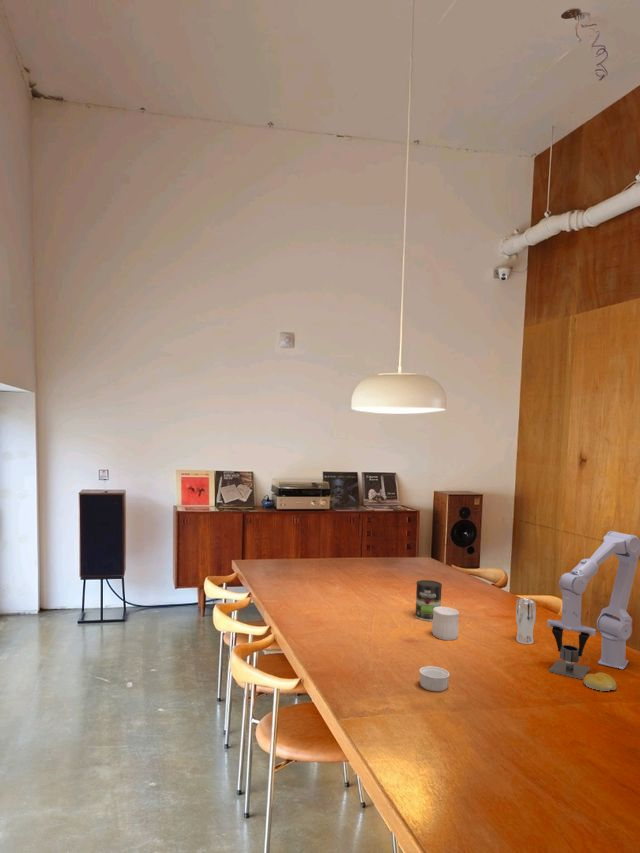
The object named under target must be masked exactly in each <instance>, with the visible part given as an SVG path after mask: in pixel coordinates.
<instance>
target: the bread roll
mask: <svg viewBox="0 0 640 853" xmlns="http://www.w3.org/2000/svg"><path fill="white" fill-rule="evenodd" d="M582 681H583V684H584V685H586V688H588V687H589V688H588V689H590V688H592V689H591V690H593V689H596V690H595V691H597V690H600V691H599V692H602V691H608V692H611V691H610V690H614V691H615V690H616V689H617V682H616V681H615V679H614V678H613V676H611V675H609V674H608V673H605V672H602V671H599V672H596V673H587V674H586V675H585V677H584V678H583V680H582Z"/></svg>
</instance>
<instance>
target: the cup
mask: <svg viewBox="0 0 640 853" xmlns="http://www.w3.org/2000/svg"><path fill="white" fill-rule="evenodd" d="M459 617H460V611H459V610H457V609H455V608H453V607H448V606H439V607H434V608H433V621H432V623H431V624H432V626H431V633H432V636H434V637H435V638H436V637H437V638H436V639H438V638H439V639H438V640H441V639H442V641H454V640H457V638H458V637H459Z"/></svg>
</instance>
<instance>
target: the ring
mask: <svg viewBox="0 0 640 853" xmlns="http://www.w3.org/2000/svg"><path fill="white" fill-rule="evenodd" d="M559 658H560V660H562V661H568V662H574V663H579V662H580V659H581V657H580V656H579V647H577V646H574V645H571V644H562V646H561V648H560V652H559Z"/></svg>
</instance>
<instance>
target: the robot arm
mask: <svg viewBox="0 0 640 853" xmlns="http://www.w3.org/2000/svg"><path fill="white" fill-rule="evenodd" d="M613 555H614V556H615V557H616V558H617V560H618V561H619V562H618V566H617V571H616V575H615V578H614V582H613V588H612V591H611V596H610V599H609V604H608V606H606V607H604V608H602V609H601V611H600V614H599V616H598V618H597V620H596V628H597V630H598V631H599V635H601V651H600V653H601V655H600V659H599V660H598V661H597V664H598V665H602V666H607V667H611V668H615V669H618V668H619V670H623V669H624V668H625V669H626V668H627V666H628V663H629V659H628V660H627V659H626V651H627V650H626V649H627V648H626V646H627V643H626V641H628V639H630V637H631V635H632V633H633V628H632V626H633V625H632V624H633V619H632V617H631V616H630V614H629V613H628V612H627V610H628V605H629V601H630V596H631V593H632V592H631V591H632V590H633V589H632V588H633V584H634V581H635V574H636V572H637V567H638V561H639V558H640V538H639V537H638V536H637V535H635V534H629V533H624V532H623V533H622V532H618V531H614V530H610V531H608V532H607V533H606V534H605V535H604V536H603V539H602V544H601V545H600V546H599V547H597V549H596V550H595V552H593V554H592V555H591V556H590V557H589V558H583V559H581V560H580V561H579V562H578V564H577V565H576V566H575V567H574V568H573V569H571V571H570V572H565V573H563V574H562V575H560V576H561V577H560V578H559V581H558V586H559V588H560V590H561V591H560V593H561V596H562V600H561V601H562V602H561V603H562V608H561V620H555V619H554V620H553V619H550V618H549V619H548V620H547V622H546V624H547V625H546V627H548V628H551V627H552V629H551V633H552V635H553V637H554V640H555V643H556V645H557V651H558V652H559V653H560V648H561V646H562V645H563V634H564V630H565V631H569V632H570V631H571V632H574V633H579V634H578V648H579V656H580V658H581V657H582V656H583V652H584V648H585V646H586V643H587V641H588V640H589V639H590V638H589V637H590V636H591V637H595V636H596V635H597V633H596V632H597V630H596V628H593V627H589V626H586V625H583V624H582V620H581V619H582V602H583V601H582V596H583V593H585V592H586V590H587V586H588V584H589V581H591V579H592V578H593V577H595V575H596V574H598V572H599V566H600V565H601V564H603V563H604V562H605V561H606V560H607V559H609V558H610V557H611V556H613ZM625 669H624V670H625Z"/></svg>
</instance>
